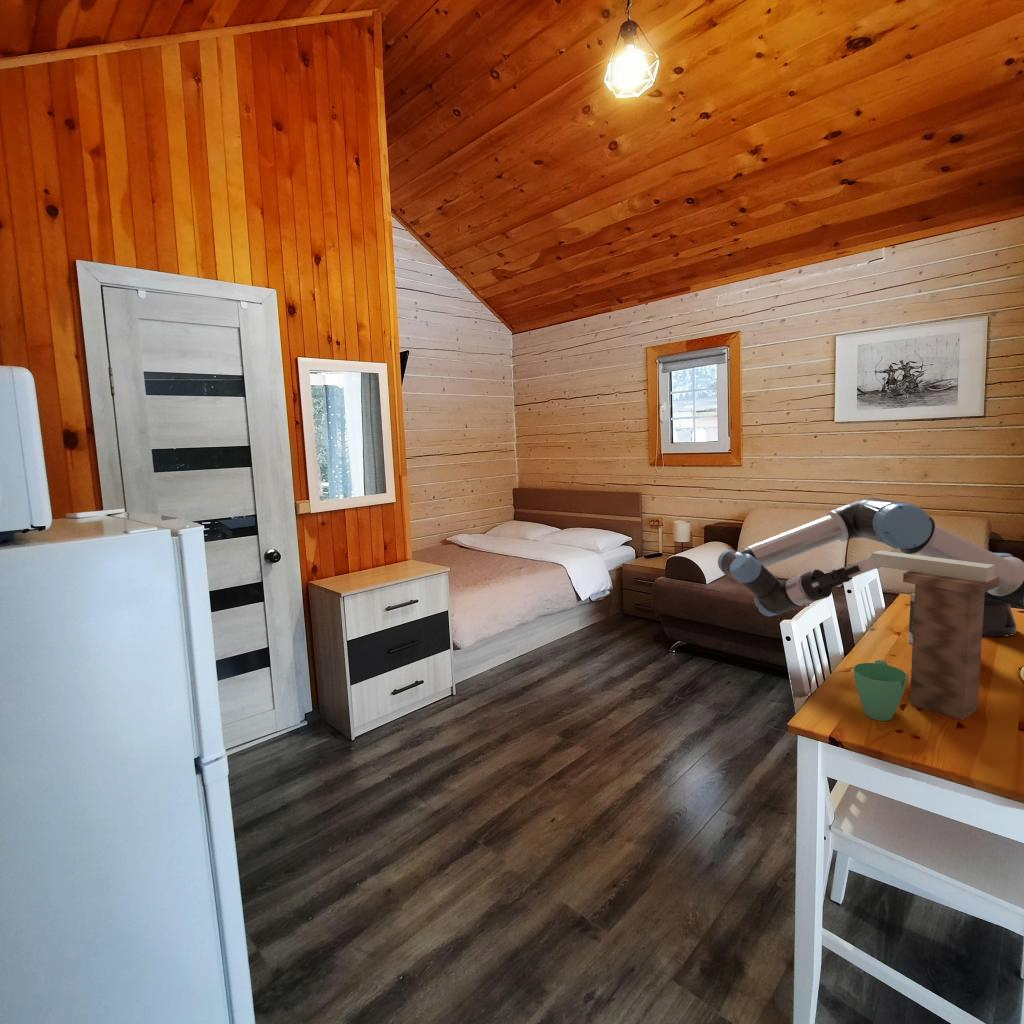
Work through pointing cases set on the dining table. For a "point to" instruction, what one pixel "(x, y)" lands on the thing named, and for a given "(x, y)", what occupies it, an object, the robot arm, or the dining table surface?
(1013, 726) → the dining table surface
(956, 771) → the dining table surface
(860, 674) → the mug
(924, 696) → the pedestal
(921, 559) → the stick
